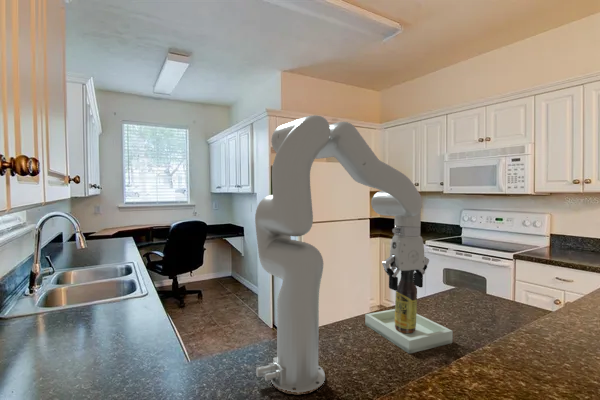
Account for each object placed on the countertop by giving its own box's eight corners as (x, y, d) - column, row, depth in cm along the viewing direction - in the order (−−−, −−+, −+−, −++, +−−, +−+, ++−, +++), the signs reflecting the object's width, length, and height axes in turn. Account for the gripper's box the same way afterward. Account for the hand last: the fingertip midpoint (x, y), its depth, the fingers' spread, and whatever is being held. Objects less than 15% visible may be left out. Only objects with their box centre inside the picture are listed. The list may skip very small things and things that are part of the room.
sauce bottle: (390, 327, 97) (391, 264, 97) (406, 324, 99) (407, 262, 99) (404, 336, 91) (405, 269, 91) (421, 333, 93) (422, 267, 93)
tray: (409, 353, 83) (409, 340, 83) (365, 324, 101) (365, 314, 101) (452, 342, 89) (452, 330, 89) (403, 317, 108) (403, 307, 108)
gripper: (392, 234, 88) (391, 294, 88) (438, 232, 95) (436, 288, 95) (376, 231, 95) (375, 287, 95) (419, 230, 102) (418, 282, 102)
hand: (405, 287), depth 95 cm, fingers open, 9 cm apart
